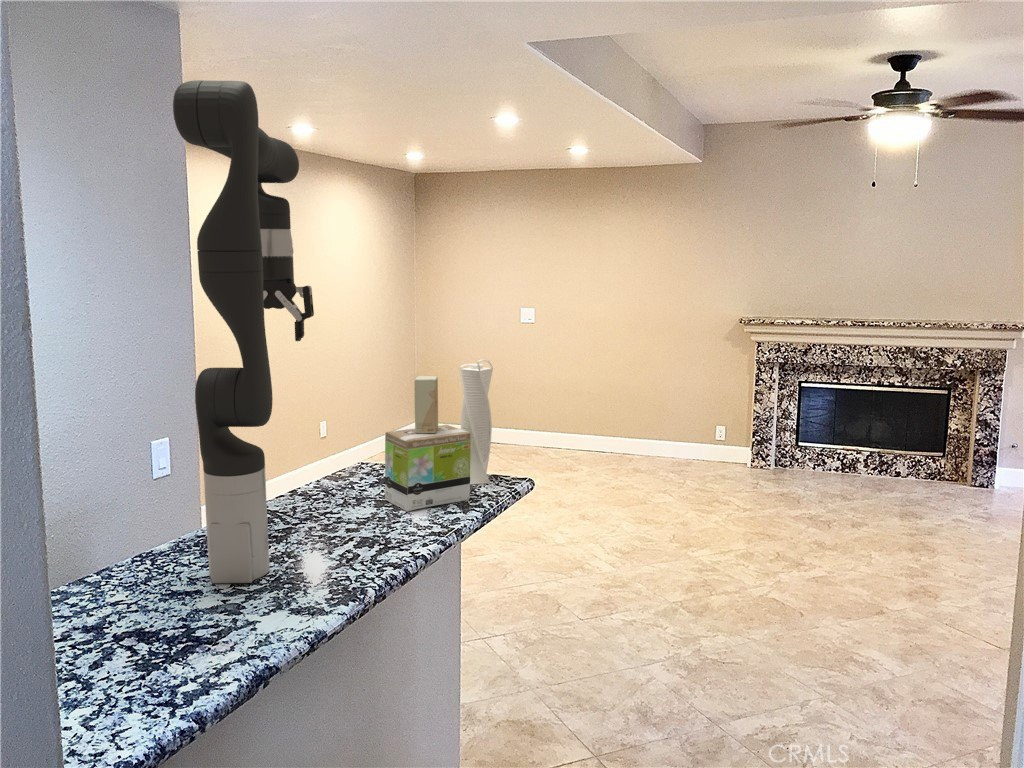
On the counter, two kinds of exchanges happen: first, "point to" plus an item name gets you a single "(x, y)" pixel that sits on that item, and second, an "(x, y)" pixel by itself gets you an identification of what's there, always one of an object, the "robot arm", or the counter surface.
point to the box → (426, 404)
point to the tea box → (427, 467)
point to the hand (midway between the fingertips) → (275, 340)
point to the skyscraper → (477, 417)
